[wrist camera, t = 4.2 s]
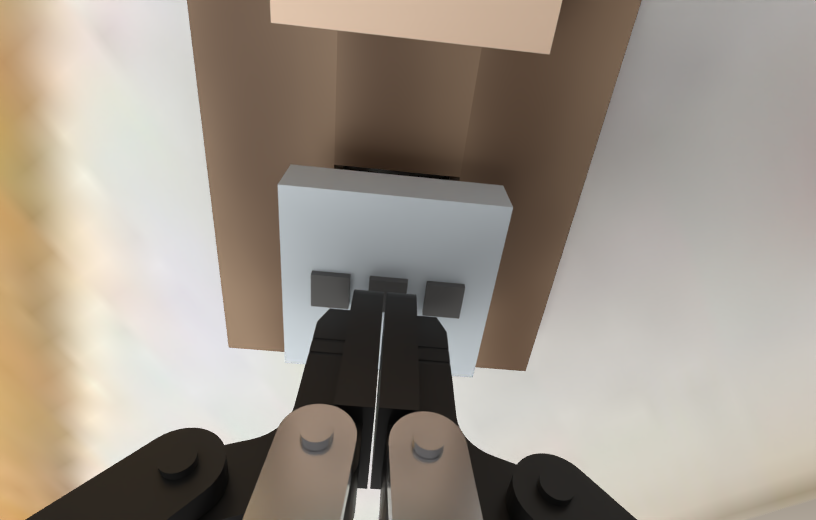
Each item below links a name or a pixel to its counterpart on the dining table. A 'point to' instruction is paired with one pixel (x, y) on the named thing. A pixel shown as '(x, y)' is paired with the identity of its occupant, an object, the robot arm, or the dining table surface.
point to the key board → (400, 140)
